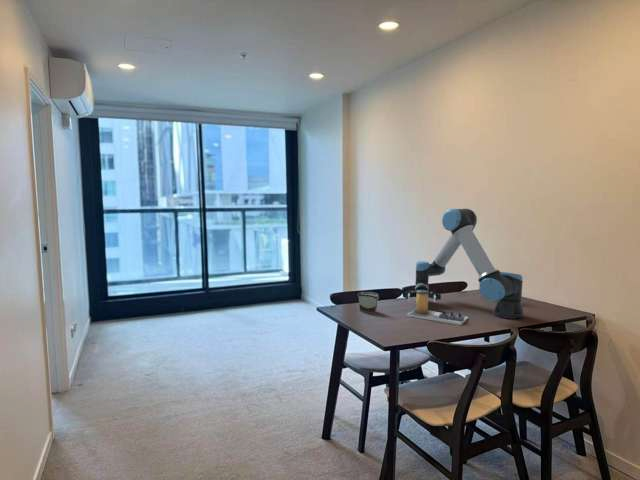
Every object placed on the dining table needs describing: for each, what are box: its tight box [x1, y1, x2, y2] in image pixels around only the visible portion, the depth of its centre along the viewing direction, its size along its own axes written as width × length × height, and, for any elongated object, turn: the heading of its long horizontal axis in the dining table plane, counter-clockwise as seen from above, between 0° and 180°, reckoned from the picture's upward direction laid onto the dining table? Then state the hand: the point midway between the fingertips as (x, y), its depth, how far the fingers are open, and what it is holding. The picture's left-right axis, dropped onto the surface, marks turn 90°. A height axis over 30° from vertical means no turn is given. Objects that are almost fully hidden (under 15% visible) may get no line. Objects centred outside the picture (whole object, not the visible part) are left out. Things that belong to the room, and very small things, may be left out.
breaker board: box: [406, 308, 469, 326], centre depth 229 cm, size 28×13×5 cm, turn 57°
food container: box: [357, 291, 380, 314], centre depth 241 cm, size 12×6×10 cm, turn 57°
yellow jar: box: [415, 290, 430, 314], centre depth 233 cm, size 6×6×12 cm
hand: (421, 299), depth 233 cm, fingers open, 13 cm apart
